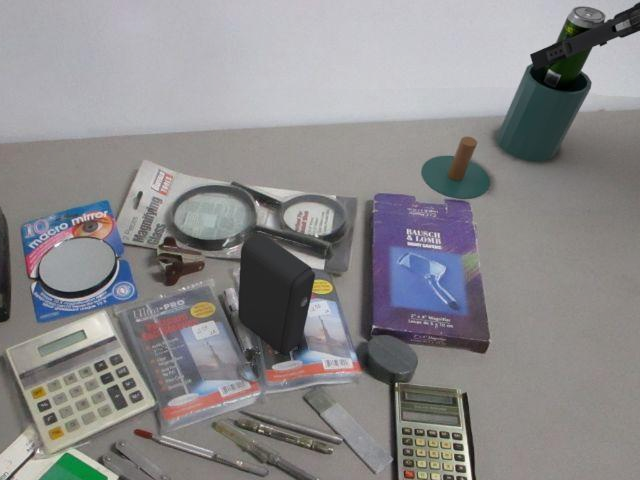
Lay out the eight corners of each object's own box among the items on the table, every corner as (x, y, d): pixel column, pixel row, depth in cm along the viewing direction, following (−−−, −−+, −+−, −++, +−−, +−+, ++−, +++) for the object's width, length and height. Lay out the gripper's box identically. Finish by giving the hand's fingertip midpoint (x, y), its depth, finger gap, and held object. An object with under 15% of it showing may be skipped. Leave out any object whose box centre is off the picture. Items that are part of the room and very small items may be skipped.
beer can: (564, 98, 97) (600, 25, 88) (532, 86, 99) (564, 13, 90) (576, 85, 100) (612, 13, 90) (545, 74, 102) (578, 2, 93)
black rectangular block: (305, 345, 79) (321, 267, 67) (285, 362, 77) (298, 286, 65) (255, 306, 82) (262, 227, 71) (235, 322, 81) (239, 243, 69)
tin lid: (479, 162, 105) (496, 122, 99) (494, 205, 98) (513, 165, 92) (415, 158, 106) (428, 118, 99) (425, 200, 98) (439, 160, 92)
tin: (544, 132, 112) (579, 62, 101) (561, 167, 105) (600, 95, 95) (489, 129, 112) (519, 59, 101) (502, 163, 106) (535, 92, 95)
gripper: (675, 36, 75) (517, 95, 96) (744, 1, 82) (583, 63, 103) (659, -23, 73) (502, 49, 94) (731, -54, 81) (570, 20, 101)
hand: (545, 56), depth 98 cm, fingers closed on beer can, 5 cm apart
